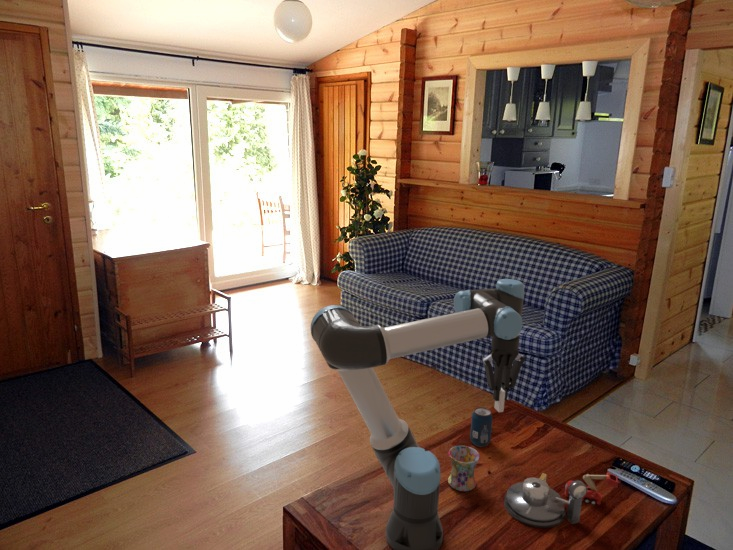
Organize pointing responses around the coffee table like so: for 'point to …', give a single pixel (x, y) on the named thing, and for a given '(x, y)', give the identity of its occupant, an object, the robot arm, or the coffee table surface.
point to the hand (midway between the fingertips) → (498, 409)
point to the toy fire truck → (594, 487)
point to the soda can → (481, 427)
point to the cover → (535, 492)
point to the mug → (463, 467)
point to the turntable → (534, 513)
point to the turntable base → (532, 523)
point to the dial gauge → (574, 500)
